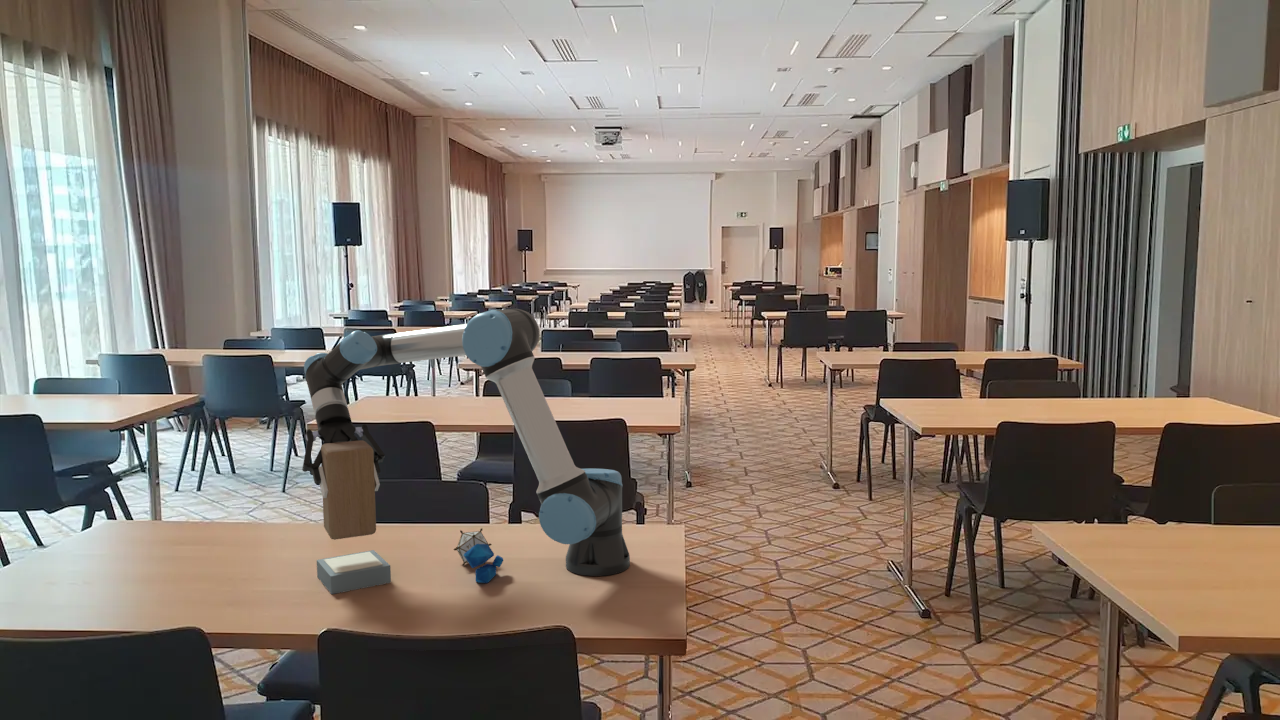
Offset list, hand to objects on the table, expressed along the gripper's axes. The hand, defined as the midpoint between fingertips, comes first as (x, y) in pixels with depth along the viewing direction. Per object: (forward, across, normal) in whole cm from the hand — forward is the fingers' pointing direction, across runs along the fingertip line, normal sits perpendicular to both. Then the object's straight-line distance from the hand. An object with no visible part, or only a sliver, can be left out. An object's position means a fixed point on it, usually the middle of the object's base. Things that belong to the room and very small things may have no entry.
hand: (351, 491), depth 200 cm
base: (+13, 0, -17) cm, 21 cm away
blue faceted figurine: (+25, -25, -5) cm, 36 cm away
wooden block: (+5, 0, -9) cm, 11 cm away
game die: (+16, -27, -14) cm, 35 cm away
